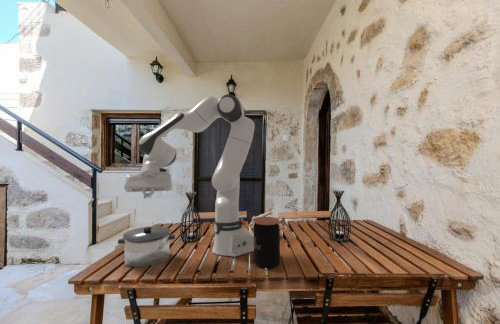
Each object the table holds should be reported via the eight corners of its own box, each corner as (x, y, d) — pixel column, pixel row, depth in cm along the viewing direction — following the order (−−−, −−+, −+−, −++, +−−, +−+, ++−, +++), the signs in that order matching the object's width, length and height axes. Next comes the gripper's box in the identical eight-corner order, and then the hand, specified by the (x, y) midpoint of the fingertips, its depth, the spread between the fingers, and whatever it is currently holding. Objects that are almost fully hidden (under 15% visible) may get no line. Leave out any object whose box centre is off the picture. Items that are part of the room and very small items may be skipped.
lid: (129, 230, 115) (129, 223, 115) (171, 227, 120) (171, 220, 120) (117, 244, 96) (117, 235, 96) (168, 239, 101) (168, 231, 101)
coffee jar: (254, 258, 106) (253, 216, 106) (278, 258, 106) (278, 216, 106) (253, 269, 96) (253, 222, 96) (281, 269, 95) (280, 222, 95)
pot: (124, 253, 114) (124, 231, 114) (176, 248, 119) (176, 227, 119) (112, 269, 96) (112, 244, 96) (173, 263, 102) (173, 239, 102)
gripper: (125, 170, 114) (120, 194, 104) (172, 169, 118) (170, 192, 109) (128, 179, 118) (122, 203, 108) (172, 178, 123) (171, 200, 113)
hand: (147, 197), depth 109 cm, fingers closed
